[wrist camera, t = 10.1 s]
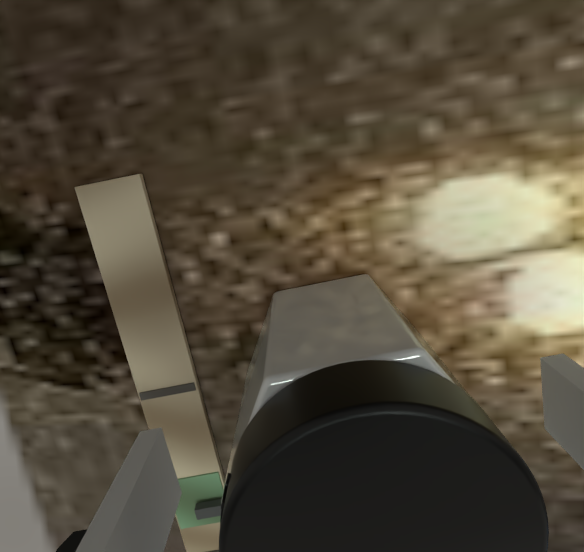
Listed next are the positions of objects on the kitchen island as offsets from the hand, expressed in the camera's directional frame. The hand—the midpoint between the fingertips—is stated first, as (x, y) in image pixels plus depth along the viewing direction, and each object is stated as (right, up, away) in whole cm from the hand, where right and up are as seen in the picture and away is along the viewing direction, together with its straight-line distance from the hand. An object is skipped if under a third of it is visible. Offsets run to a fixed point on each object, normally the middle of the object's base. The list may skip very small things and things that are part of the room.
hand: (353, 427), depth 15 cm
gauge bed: (-8, -2, +8) cm, 11 cm away
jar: (0, +1, +7) cm, 7 cm away
